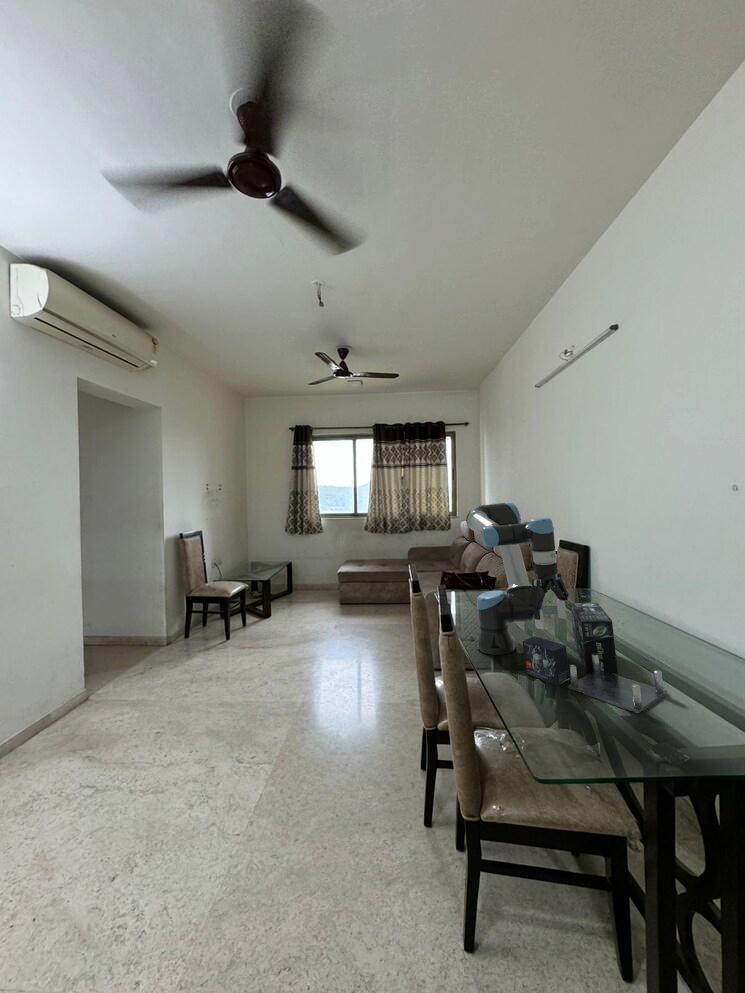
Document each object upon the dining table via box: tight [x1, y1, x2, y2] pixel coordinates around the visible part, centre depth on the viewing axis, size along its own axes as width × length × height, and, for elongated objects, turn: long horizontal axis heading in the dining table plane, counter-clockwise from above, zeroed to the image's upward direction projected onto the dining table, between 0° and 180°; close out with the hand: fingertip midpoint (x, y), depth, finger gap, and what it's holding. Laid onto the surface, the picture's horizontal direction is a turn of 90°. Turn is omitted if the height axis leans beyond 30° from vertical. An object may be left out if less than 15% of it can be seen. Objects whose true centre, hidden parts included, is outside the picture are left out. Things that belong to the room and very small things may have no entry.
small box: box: [522, 635, 571, 687], centre depth 138 cm, size 13×7×12 cm, turn 29°
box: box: [570, 601, 619, 675], centre depth 148 cm, size 23×10×19 cm, turn 162°
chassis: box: [568, 653, 668, 714], centre depth 124 cm, size 21×17×7 cm
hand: (551, 623), depth 138 cm, fingers open, 13 cm apart
